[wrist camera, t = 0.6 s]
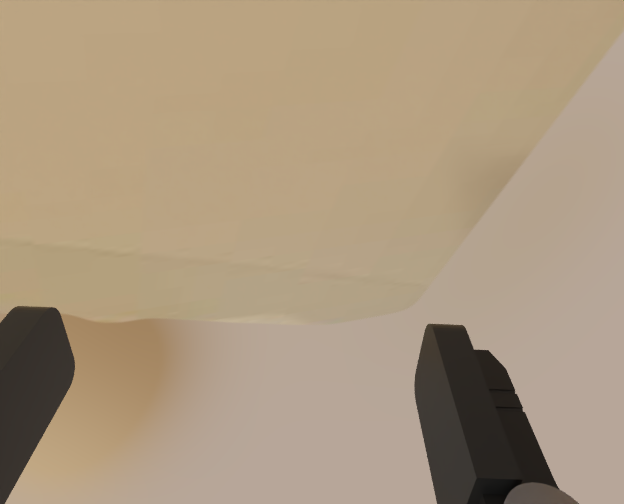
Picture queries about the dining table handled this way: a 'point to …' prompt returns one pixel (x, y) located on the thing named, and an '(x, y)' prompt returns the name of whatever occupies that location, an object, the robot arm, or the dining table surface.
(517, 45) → the dining table surface
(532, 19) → the dining table surface
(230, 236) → the dining table surface
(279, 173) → the dining table surface
